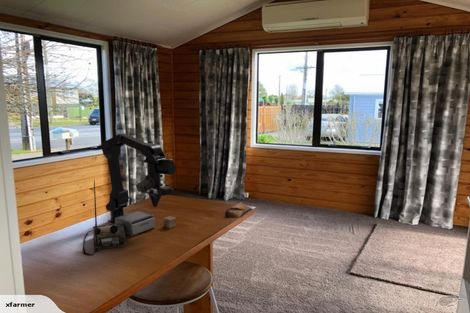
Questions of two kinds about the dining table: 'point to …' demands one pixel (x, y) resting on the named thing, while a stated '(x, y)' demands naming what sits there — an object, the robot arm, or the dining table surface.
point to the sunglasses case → (238, 210)
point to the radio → (106, 235)
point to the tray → (142, 226)
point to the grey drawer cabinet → (132, 220)
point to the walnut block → (169, 222)
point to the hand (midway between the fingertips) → (155, 206)
